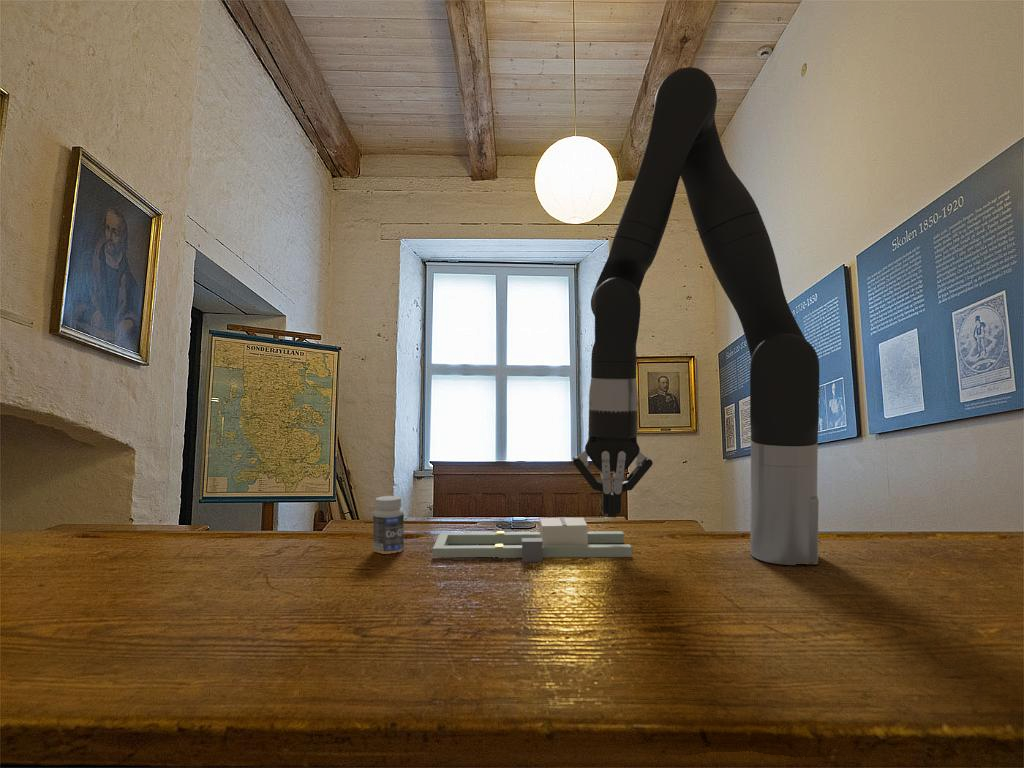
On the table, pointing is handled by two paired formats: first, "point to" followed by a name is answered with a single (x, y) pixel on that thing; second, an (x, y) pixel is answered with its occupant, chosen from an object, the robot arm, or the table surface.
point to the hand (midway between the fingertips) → (611, 516)
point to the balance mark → (499, 544)
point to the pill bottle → (388, 524)
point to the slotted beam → (527, 546)
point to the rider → (563, 531)
